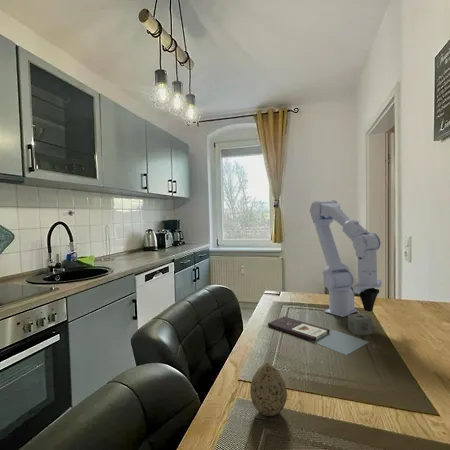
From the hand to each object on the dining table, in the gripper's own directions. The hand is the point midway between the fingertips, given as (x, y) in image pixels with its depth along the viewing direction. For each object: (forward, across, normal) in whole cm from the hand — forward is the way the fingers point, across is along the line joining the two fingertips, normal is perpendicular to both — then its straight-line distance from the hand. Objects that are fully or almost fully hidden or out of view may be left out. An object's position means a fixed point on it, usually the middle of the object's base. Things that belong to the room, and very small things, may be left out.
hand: (368, 310), depth 97 cm
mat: (+6, -17, 0) cm, 18 cm away
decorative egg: (+6, -55, -9) cm, 56 cm away
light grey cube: (+6, -6, 0) cm, 8 cm away
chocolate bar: (+5, -19, +14) cm, 24 cm away
